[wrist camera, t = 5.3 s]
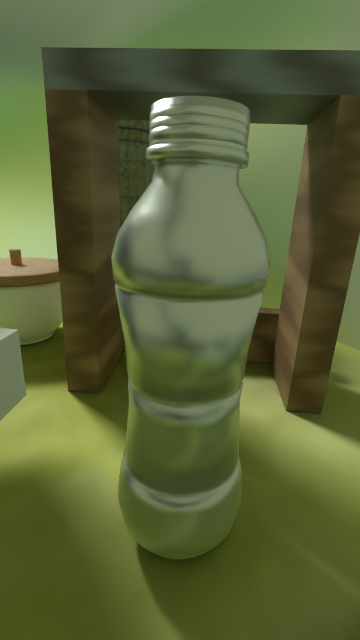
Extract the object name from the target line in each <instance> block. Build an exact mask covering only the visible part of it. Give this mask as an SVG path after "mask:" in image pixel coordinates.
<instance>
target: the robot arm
mask: <svg viewBox="0 0 360 640" xmlns="http://www.w3.org/2000/svg"><path fill="white" fill-rule="evenodd" d="M25 396H26V388H25V380H24V372H23V364H22V356H21V348H20V340H19V332H18V329H6V328H0V420H1V419H3V418H4V417H5V416H6V415H7V414H8V413H9V412H10V411H11V410H12V409H13V408H14V407H15V406H16V405H17V404H18V403H19V402H20V401H21V400H22V399H23V398H24V397H25Z"/></svg>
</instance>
